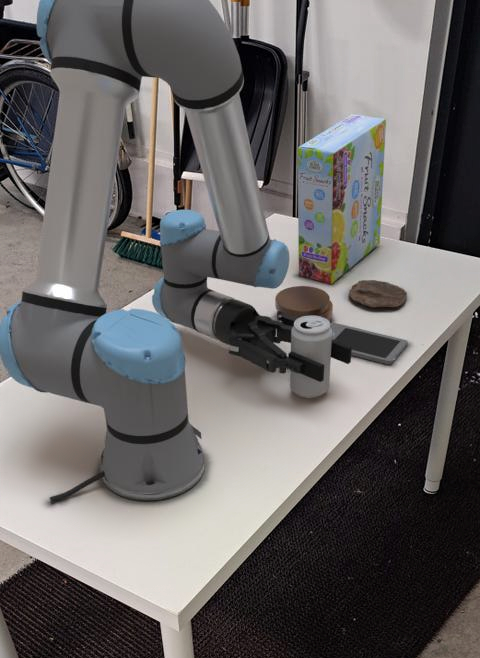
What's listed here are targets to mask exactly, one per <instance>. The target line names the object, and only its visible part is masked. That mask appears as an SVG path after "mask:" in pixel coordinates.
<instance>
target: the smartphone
mask: <svg viewBox="0 0 480 658" xmlns="http://www.w3.org/2000/svg"><path fill="white" fill-rule="evenodd" d="M330 328H331V329H332V339H333V340H336V341H337V342H340V343H342V344H345V345H347V346H350V347H352V352H351V356H353V357H357V358H361V359H365V360H369V361H372V362H377V363H381V364H384V365H392V363H394V361H395V360H397V358H398V357H399V356H400V354H401V353H402V352H403V351H404V349H406V347H407V346H408V340H407V339H403V338H400V337H395V336H391V335H387V334H383V333H379V332H374V331H371V330H366V329H362V328H357V327H354V326H350V325H346V324H341V323H337V322H330Z"/></svg>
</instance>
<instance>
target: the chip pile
mask: <svg viewBox="0 0 480 658" xmlns="http://www.w3.org/2000/svg"><path fill="white" fill-rule="evenodd" d="M274 300H275V301H274V306H275V309H276V313H277V312H278V311H283V312H285V313H287V314H288V315H290V316H293V317H296V318H300V317H303V316H320V317H323V318H325V319H327V320H328V321H329V322H330V323H331V318H332V316H333V312H334V310H333V309H334V305H333V302H332V301H331V298H330V295H329V293H327V291H325V290H323V289H321V288H318V287H315V286H309V285H308V286H307V285H297V286H290V287H286V288H284V289H282V290H280V291H278V292H277V294H276V295H275V298H274Z"/></svg>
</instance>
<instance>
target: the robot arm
mask: <svg viewBox="0 0 480 658" xmlns="http://www.w3.org/2000/svg"><path fill="white" fill-rule="evenodd" d="M36 34H37V36H38V37H39V38H40V40H39V42H38V43H39V44H38V45H39V47H40V50H41V52H42V54H43V56H44V58H45V59H46V60H47V61H48V62H49V64H50V72H49V75H50V77H51V79H52V80H53V82H54V83H55V84H56V86H57V88H58V92H59V97H58V104H57V112H56V119H55V128H54V133H53V134H54V135H53V136H54V137H53V143H52V150H51V158H50V165H49V166H50V167H49V174H48V180H47V181H48V182H47V189H46V197H45V205H44V212H43V218H42V219H43V220H42V226H41V227H42V228H41V235H40V241H39V251H38V257H37V258H38V259H37V265H36V274H35V278H34V280H33V281H32V282H31V283H29V284H28V285H26V286H24V288H22V292H21V293H22V294H21V300H20V301H18V302H16V303H14V304H12V305H11V306H9V307H8V309H7V310H6V315H3V317H2V318H1V321H0V360H1V363H2V366H3V367H4V369H5V370H7V374H8V375H9V376H10V377H11V378H12V379H13V380H14V381H15V382H16V383H18V384H20V385H22V386H25V387H28V388H31V389H32V390H35V391H37V392H39V393H48V394H53V395H56V396H60V397H64V398H68V399H72V400H76V401H79V402H82V403H86V404H91V405H94V406H98V407H101V408H102V409H103V413H104V418H105V419H104V420H105V424H106V433H105V437H104V446H103V449H102V451H101V454H100V463H99V467H100V468H99V469H100V472H98V473H97V474H94V475H93V476H91V477H89V478H87V479H86V480H84V481H82V482H81V483H79V484H77V485H76V486H74V487H72V488H71V489H69V490H67V491H64V492H62V493H60V494H56V495H52V496H49V501H50V503H54V502H57V501H61V500H64V499H66V498H69V497H71V496H73V495H74V494H76V493H78V492H79V491H81V490H83V489H84V488H87V487H88V486H90V485H91V484H94V483H95V482H97V481H99V480H100V479H102V481H103V484H105V486H106V487H107V488H108V489H109V490H110V491H112V492H113V493H115V494H117V495H118V496H120V497H123V498H126V499H131V500H136V501H159V500H165V499H169V498H174V497H176V496H179V495H180V494H183V493H185V492H186V491H188V490H190V489H191V488H192V487H194V486H195V485H196V484H197V483H198V482H199V481H200V479H201V478H202V476H203V474H204V472H205V455H204V452H203V448H202V445H201V443H200V441H199V439H200V440H202V432H201V431H200V430H199V429H197V428H196V427H195V426H194V425H193V424H191V423H190V422H191V421H189V410H188V394H187V380H186V379H187V378H186V355H185V352H184V348H183V342H182V336H181V334H180V333H179V330H178V328H177V326H176V325H180V326H183V327H185V328H188V329H191V330H193V331H196V332H197V333H200V334H203V335H205V336H207V337H210V338H211V339H214V340H216V341H219V342H220V343H223V344H225V345H228V346H227V347H228V354H229V355H231V356H235V357H240V358H242V359H244V360H246V361H247V362H249V363H251V364H254V365H255V366H257V367H258V368H261V369H263V370H265V371H266V372H269V373H271V374H272V373H276V372H277V370H278V369H279V374H286V373H287V370H288V371H293V372H295V373H299V374H303V375H305V376H307V377H310V378H312V379H314V380H317V381H319V382H322V381H323V380H324V365H323V364H321V363H318V362H316V361H314V360H311V359H309V358H306V357H304V356H301V355H299V354H297V353H294V352H292V351H291V350H290V352H288V354H287V352H286V351H284V350H283V349H282V348H281V347H279V346H278V345H277V344H280V343H282V342H283V343H288V344H291V330H292V328H293V326H294V322H295V320H297V319H298V318H296V317H293V316H290V315H288V314H287V313H285V312H283V311H278V312H277V311H276V316H274V317H270V316H268V315H261V314H260V313H259V312H258V311H257V310H256V308H255V307H254V306H253V305H252V304H250V303H247V302H244V301H242V300H239V299H235V298H234V297H232V296H229V295H226V294H223V293H221V292H218V291H215V290H213V289H210V288H209V287H208V278H211V279H216V280H221V281H226V282H231V283H235V284H241V285H244V286H249V287H254V288H262V289H263V288H264V289H272V290H274V289H278V288H279V287H280V286H281V285H282V284H283V282H284V280H285V279H286V277H287V274H288V271H289V267H290V266H289V265H290V250H289V247H288V246H287V245H286V243H284V242H283V241H280V240H277V239H276V238H273V239H271V237H270V233H269V228H268V226H267V224H268V223H267V219H266V215H265V209H264V205H263V202H262V201H263V200H262V196H261V192H260V187H259V182H258V181H259V180H258V176H257V172H256V167H255V163H254V158H253V153H252V149H251V144H250V139H249V134H248V129H247V125H246V120H245V115H244V110H243V105H242V101H241V97H240V92H241V91H242V89H243V87H244V82H245V78H244V72H243V66H242V63H241V58H240V54H239V52H238V49H237V46H236V44H235V41H234V39H233V36H232V34H231V32H230V30H229V29H228V27H227V25H226V23H225V21H224V20H223V17H222V16H221V14H220V13H219V11H218V9H216V7H215V6H214V4H213V3H212V2H211V0H39V2H38V6H37V13H36ZM143 77H144V78H157V79H158V78H159V79H160V80H162V81H164V82H165V83H167V85H168V86H169V88H170V91H171V94H172V98H173V100H174V102H175V104H176V105H177V106H178V107H180V108H181V109H183V110H184V112H185V116H186V118H187V123H188V126H189V129H190V133H191V137H192V140H193V144H194V148H195V150H196V155H197V158H198V161H199V165H200V169H201V172H202V176H203V179H204V182H205V187H206V190H207V193H208V197H209V200H210V204H211V207H212V210H213V214H214V215H213V216H214V218H215V223H216V225H217V229H218V230H215V229H210V228H206V227H207V225H206V221H205V217H204V215H203V214H202V213H200V212H198V211H196V210H192V209H178V210H177V209H176V210H173V211H170V212H168V213H166V214H165V215H163V216H162V217H161V219H160V222H159V234H160V235H159V238H160V240H159V246H160V251H161V262H162V272H163V276H161V278H160V279H159V280H158V281H157V282H156V283H155V285H154V288H153V290H154V292H153V294H152V295H151V303H152V306H153V308H154V310H155V312H154V311H152V310H147V309H141V308H130V309H129V310H125V309H124V308H121V309H120V308H119V309H115V310H111V311H109V312H107V309H108V304H107V303H106V302H105V300H104V298H103V297H102V295H101V294H100V291H99V289H100V281H101V275H102V274H101V273H102V268H103V262H104V254H105V248H106V241H107V236H108V235H107V233H108V229H109V228H108V227H109V223H110V222H109V220H110V214H111V213H110V212H111V208H112V200H113V193H114V188H115V180H116V173H117V168H118V166H117V165H118V160H119V155H120V154H119V153H120V146H121V138H122V133H123V128H124V127H123V126H124V119H125V113H126V108H127V107H128V106H129V105H130V104H132V103H133V102H135V101H136V100H137V99H138V98H139V97H140V91H141V84H142V78H143ZM175 324H176V325H175ZM351 352H352V347H350V346H347V345H345V344H342V343H340V342H337V341H336V340H333V339H332V343H331V359H334V360H337V361H339V362H341V363H344V364H347V365H349V364H351V363H352V355H351ZM198 438H199V439H198Z"/></svg>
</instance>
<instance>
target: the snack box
mask: <svg viewBox="0 0 480 658" xmlns="http://www.w3.org/2000/svg"><path fill="white" fill-rule="evenodd" d="M386 129H387V119H386V118H384V117H383V118H382V117H375V116H374V117H373V116H369V115H368V116H367V115H362V114H356V113H355V114H353V113H351V114H349V115H348V116H347V117H345V118H343V119H341V120H340V121H338V122H337V123H335V124H333V125H332V126H330V127H329V128H326V129H325V130H324V131H322V132H321V133H319V134H317V135H315V136H314V137H312V138H311V139H309V140H307V141H306V142H304V143H302V144H301V145H299V146H298V147H297V204H298V205H297V208H298V210H297V213H298V215H297V217H298V218H297V219H298V220H297V224H298V225H297V227H298V230H297V231H298V233H297V235H298V237H297V238H298V239H297V240H298V276H299V277H302V278H305V279H306V278H307V279H311V280H315V281H320V282H323V283H326V284H330V285H333V283H335V282H336V281H337V280H339V278H341V277H342V276H343V275H344V274H345V273H347V271H348V270H351V268H352V267H354V266H355V265H356V264H357V263H358V262H359V261H361V260H362V259H363V258H364V257H365V256H367V255H368V254H369V253H370V252H371V251H372V250H374V249H375V248H376V247H377V246H379V245H380V242H381V225H382V224H381V223H382V208H383V207H382V205H383V187H384V185H383V184H384V168H385V165H384V164H385V149H386V147H385V146H386V131H387V130H386Z"/></svg>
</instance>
